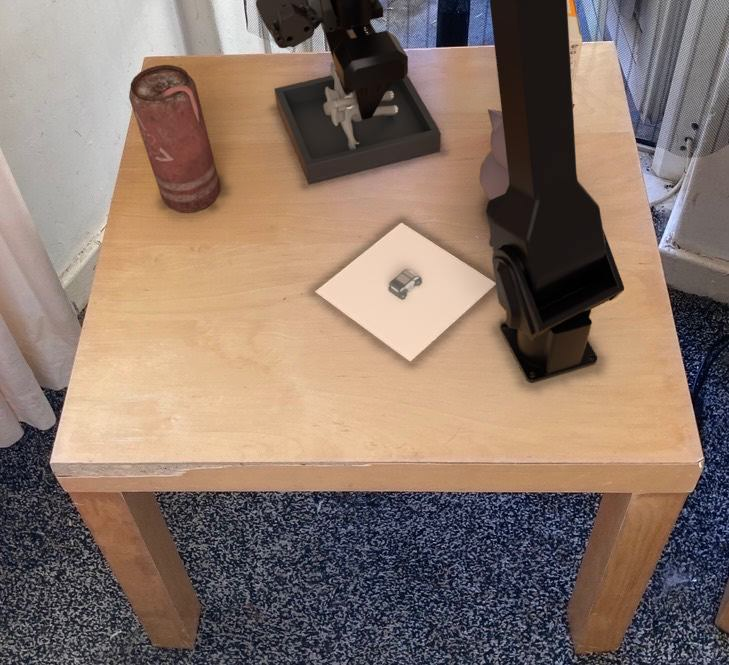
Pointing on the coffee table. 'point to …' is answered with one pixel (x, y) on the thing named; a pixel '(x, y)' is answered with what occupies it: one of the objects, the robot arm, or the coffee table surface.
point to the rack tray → (354, 130)
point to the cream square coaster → (405, 290)
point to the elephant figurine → (350, 107)
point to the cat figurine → (495, 160)
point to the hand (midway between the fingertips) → (353, 91)
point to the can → (175, 137)
